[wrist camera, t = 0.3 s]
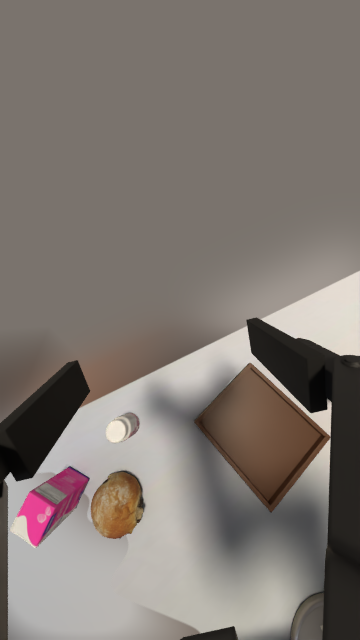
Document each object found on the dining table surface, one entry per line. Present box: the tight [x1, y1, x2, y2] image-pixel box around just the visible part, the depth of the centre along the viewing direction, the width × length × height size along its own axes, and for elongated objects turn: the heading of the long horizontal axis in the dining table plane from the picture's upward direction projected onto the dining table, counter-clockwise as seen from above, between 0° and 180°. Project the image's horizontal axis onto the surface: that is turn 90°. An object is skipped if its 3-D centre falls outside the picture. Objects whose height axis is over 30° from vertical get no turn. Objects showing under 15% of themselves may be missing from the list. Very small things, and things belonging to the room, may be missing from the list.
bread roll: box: [91, 472, 143, 539], centre depth 39 cm, size 10×10×8 cm
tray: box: [194, 363, 331, 513], centre depth 42 cm, size 21×19×2 cm
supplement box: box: [10, 467, 89, 548], centre depth 37 cm, size 6×6×12 cm
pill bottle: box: [106, 413, 139, 443], centre depth 42 cm, size 5×5×8 cm
